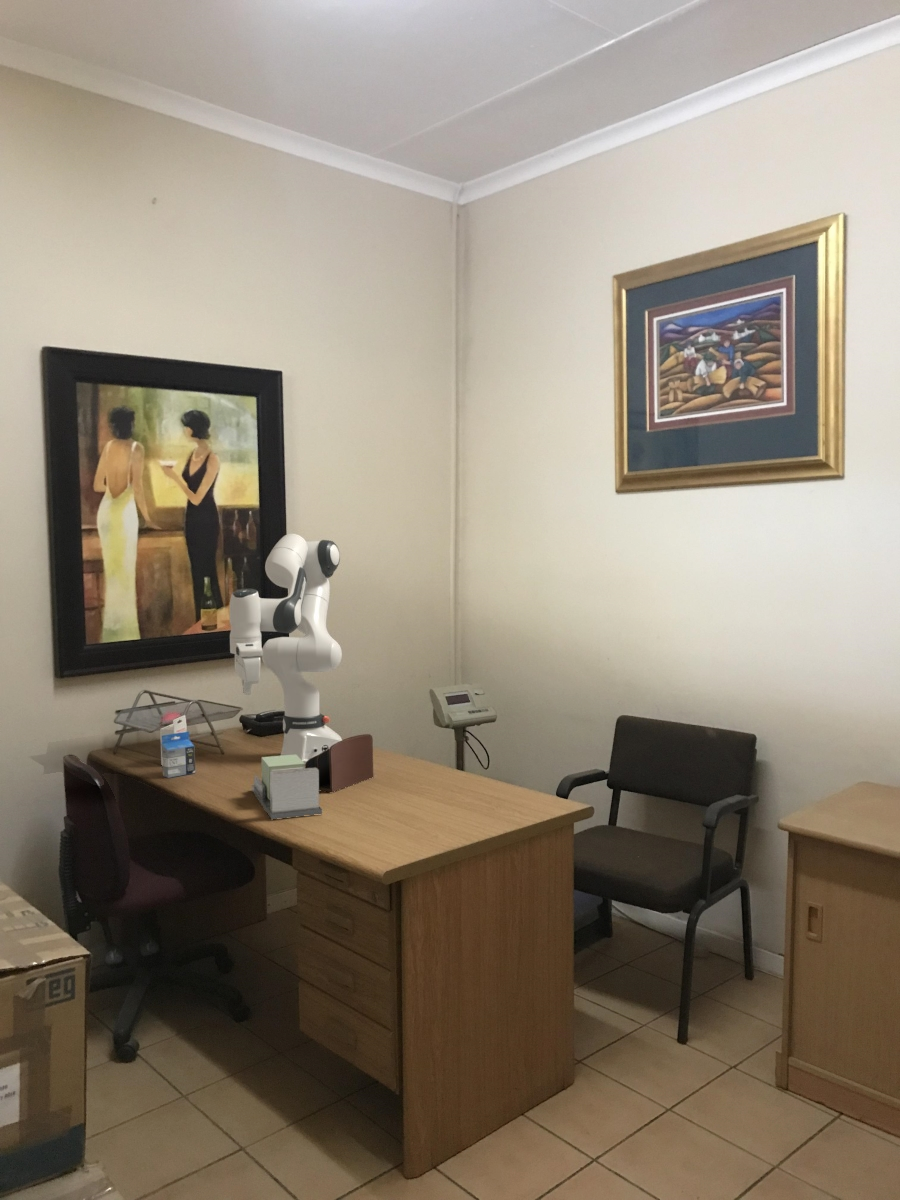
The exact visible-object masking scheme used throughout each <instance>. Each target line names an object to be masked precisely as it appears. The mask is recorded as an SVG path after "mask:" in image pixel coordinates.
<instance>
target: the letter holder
mask: <svg viewBox="0 0 900 1200" xmlns="http://www.w3.org/2000/svg"><path fill="white" fill-rule="evenodd" d="M373 741H374V739H373V735H371V734H370V733H365V734H357V735H354V736H350V737H347V738H344V739H342V741H340V742H337V743H335V744H334V745H332V746H331V747H330V749H328V750H326V751H324V752H322V753H320V754H319V755H317V756H314V757H313V758H311V759H309V760H308V761H307V762H306V764H305V768H317V769H318V770H319V790H321V791H320V792H324V791H327V792H326V793H329V792H333V793H335V792H337V790H338V791H340V790H339V789H341V790H344V789H346V788H348V786H349V787H351V786H350V785H352V786H354V785H357V784H359V782H360V783H362V782H361V781H363V782H365V781H367V779H368V780H370V779H369V778H371V779H373V778H374V744H373ZM372 777H373V778H372ZM364 780H365V781H364ZM356 783H357V784H356ZM353 784H354V785H353ZM345 787H346V788H345ZM334 791H335V792H334Z"/></svg>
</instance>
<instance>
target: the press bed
mask: <svg viewBox="0 0 900 1200" xmlns="http://www.w3.org/2000/svg"><path fill="white" fill-rule="evenodd" d="M253 781H254V783H253V785H251V791H252V793H253V792H254V793H253V795H254V794H255V795H256V796H255V795H254V796H255V797H257V798H256V799H257V801H258V800H259V801H258V802H259V804H260V803H261V804H260V805H261V807H262V806H263V807H262V808H263V810H264V809H265V810H264V812H265V813H266V812H267V813H268V815H269V816H270V818H271V819H277V818H287V817H296V816H304V815H314V814H322V813H323V812H322V811H323V810H322V808H321V807H320V791H319V770H318V769H317V768H305V769H294V770H283V771H272V772H270V800H269V799H268V798H267V796H266V788H265V786H264V784H263V783H262V779H260V778H259V776H258V775H256V774H255V775H253ZM267 813H266V814H267ZM268 815H267V816H268ZM322 815H323V814H322ZM269 816H268V817H269ZM270 818H269V819H270ZM271 819H270V820H271Z"/></svg>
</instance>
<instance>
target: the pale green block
mask: <svg viewBox="0 0 900 1200" xmlns="http://www.w3.org/2000/svg"><path fill="white" fill-rule="evenodd" d="M294 769H305V763H304V762H303V761H302V760H301V759H300V758H299V757H298V756H297V755H296V754H295V755H283V756H281V755H271V756H261V782H262V783H263V784H264V786H265V788H266V796H267V798H268V799H269V800H270V772H272V771H283V770H294Z"/></svg>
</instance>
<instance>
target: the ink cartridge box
mask: <svg viewBox="0 0 900 1200" xmlns="http://www.w3.org/2000/svg"><path fill="white" fill-rule="evenodd" d="M180 721H181V722H180ZM187 728H188V727H187V716H186V714H183V715H181V716H178V717H176V718H175V719H172V723H171V724H169V725H167V726H164V727H162V728H160V729H159V731H160V732H159V736H160V764H161V765H162V735H169V734H175V733H182V732H188V729H187ZM179 738H180V737H176V736H175V737H174V738H171V740H173V739H179Z"/></svg>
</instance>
